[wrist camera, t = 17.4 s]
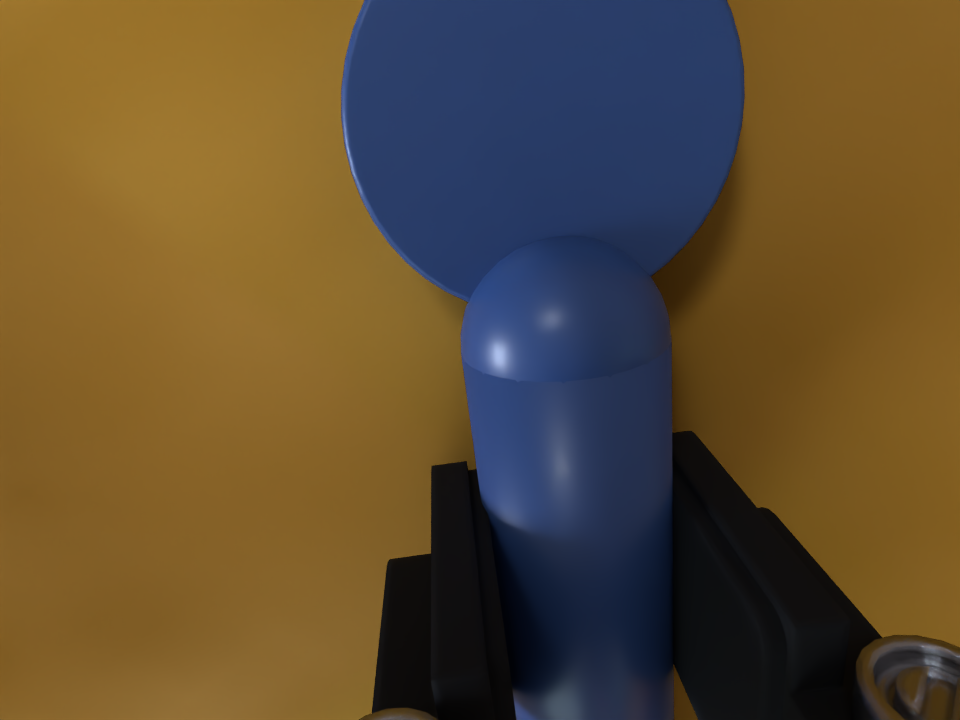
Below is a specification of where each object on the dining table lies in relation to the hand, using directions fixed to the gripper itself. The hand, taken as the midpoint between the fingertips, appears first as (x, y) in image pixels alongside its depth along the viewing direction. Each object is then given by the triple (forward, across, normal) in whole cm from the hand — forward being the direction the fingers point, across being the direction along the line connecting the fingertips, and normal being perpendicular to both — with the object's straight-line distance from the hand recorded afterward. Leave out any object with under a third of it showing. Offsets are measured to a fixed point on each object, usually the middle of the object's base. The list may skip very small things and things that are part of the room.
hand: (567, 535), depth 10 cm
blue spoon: (0, 0, 0) cm, 0 cm away
